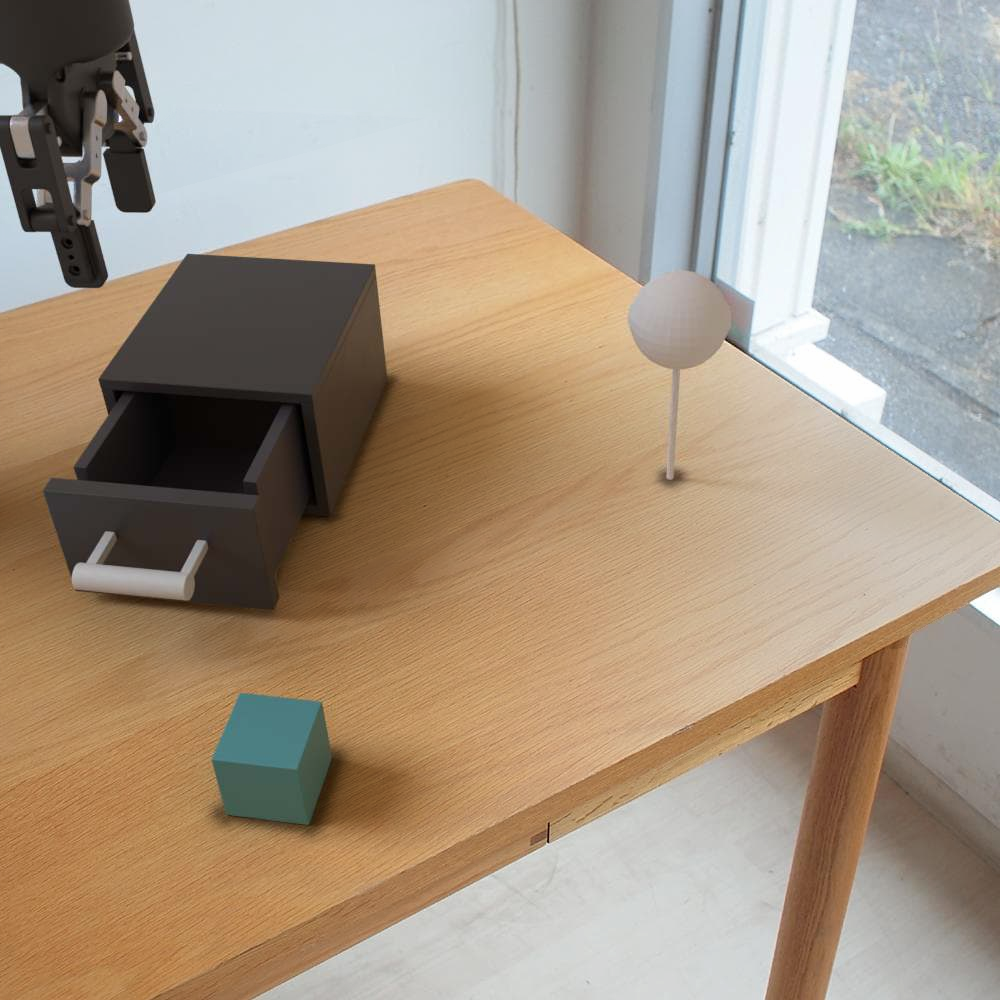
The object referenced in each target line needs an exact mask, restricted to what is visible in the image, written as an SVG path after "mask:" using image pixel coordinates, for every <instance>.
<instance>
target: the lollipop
mask: <svg viewBox="0 0 1000 1000" xmlns="http://www.w3.org/2000/svg"><path fill="white" fill-rule="evenodd" d="M732 318H733V317H732V311H731V307H730V306H729V304H728V302H727V299H726V298H725V296H724V294H723V293H722V292H721V290H720V288H719V287H718V286H717V285H716V284H715V283H714V282H713V281H712V280H710V279H709V278H707V277H706V276H704V275H702V274H700V273H698V272H695V271H691V270H682V269H680V270H679V269H677V270H669V271H666V272H664V273H661V274H658V275H656V276H655V277H653V278H651V279H650V280H649V281H648V282H647V283H646V284H645V285H643V286H642V288H641V289H640V290H639V292H638V293H637V294H636V296H635V297H634V299H633V300H632V301H631V303H630V304H629V308H628V312H627V319H626V320H627V324H628V327H629V330H630V332H631V335H632V339H633V341H634V343H635V345H636V347H637V349H638V350H639V352H641V353H642V354H643V356H644V357H646V358H647V360H649V361H650V362H652V363H653V364H655V365H657V366H659V367H662V368H665V369H670V370H672V374H671V375H672V376H671V378H672V379H671V391H670V410H669V426H668V428H669V429H668V443H667V445H668V446H667V460H666V461H667V463H666V480H669V481H673V480H674V477H675V476H674V475H675V474H674V473H675V460H676V445H677V428H678V411H679V397H680V396H679V395H680V394H679V393H680V379H681V378H680V377H681V370H688V369H692V368H695V367H698V366H700V365H702V364H704V363H706V362H707V361H709V360H710V359H711V358H713V357H714V356H715V355H716V353H717V352H718V351H719V350H720V349H721V348H722V345H723V344H724V342H725V340H726V337H727V335H728V333H729V332H730V330H731V328H732V323H733V322H732V321H733V320H732Z"/></svg>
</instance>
